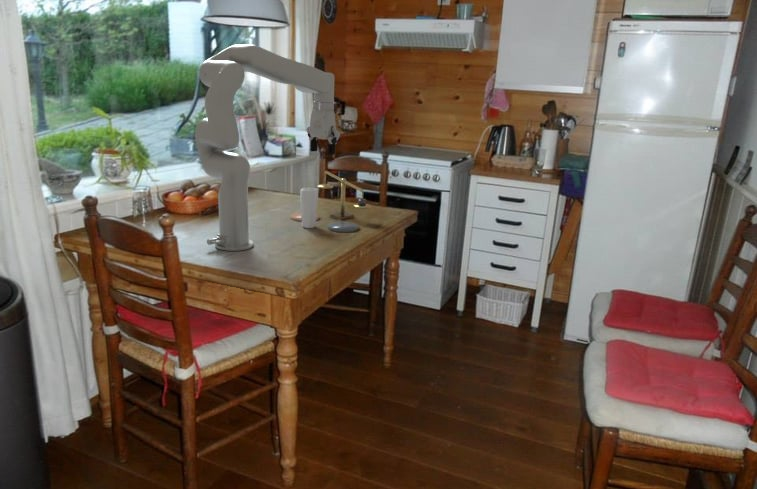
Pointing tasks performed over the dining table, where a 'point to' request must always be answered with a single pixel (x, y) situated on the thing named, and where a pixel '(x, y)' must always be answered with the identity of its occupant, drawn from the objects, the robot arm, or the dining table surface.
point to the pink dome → (299, 216)
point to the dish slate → (343, 227)
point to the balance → (343, 214)
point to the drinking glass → (308, 206)
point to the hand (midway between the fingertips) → (322, 152)
